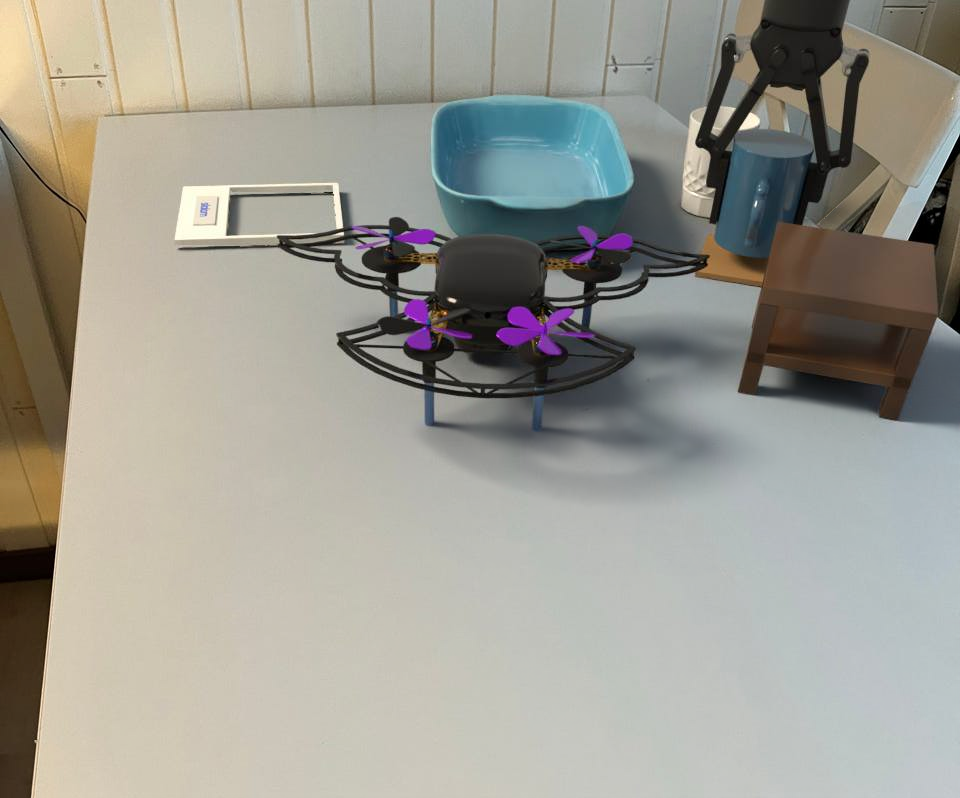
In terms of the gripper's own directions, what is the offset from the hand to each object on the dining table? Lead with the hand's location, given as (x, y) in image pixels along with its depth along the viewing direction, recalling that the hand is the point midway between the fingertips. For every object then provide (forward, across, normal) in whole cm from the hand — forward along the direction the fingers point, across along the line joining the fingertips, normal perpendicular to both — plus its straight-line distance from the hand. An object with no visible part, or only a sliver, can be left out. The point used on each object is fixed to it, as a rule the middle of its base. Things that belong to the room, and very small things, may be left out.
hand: (754, 224), depth 105 cm
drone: (+4, -20, -33) cm, 39 cm away
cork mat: (+4, 0, 0) cm, 4 cm away
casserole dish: (+4, -27, +7) cm, 28 cm away
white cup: (+4, -6, +14) cm, 16 cm away
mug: (+2, 0, -2) cm, 2 cm away
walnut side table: (+4, +9, -20) cm, 22 cm away
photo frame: (+4, -54, -8) cm, 55 cm away
